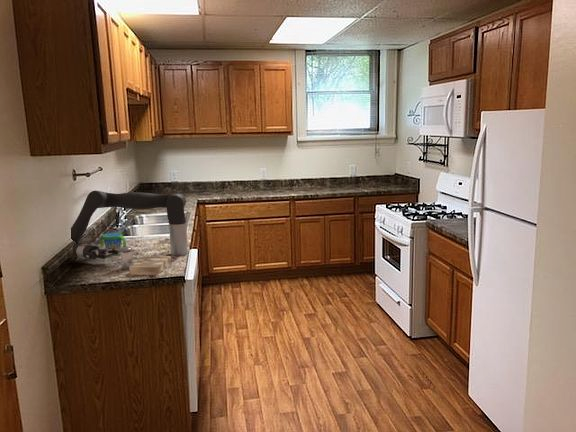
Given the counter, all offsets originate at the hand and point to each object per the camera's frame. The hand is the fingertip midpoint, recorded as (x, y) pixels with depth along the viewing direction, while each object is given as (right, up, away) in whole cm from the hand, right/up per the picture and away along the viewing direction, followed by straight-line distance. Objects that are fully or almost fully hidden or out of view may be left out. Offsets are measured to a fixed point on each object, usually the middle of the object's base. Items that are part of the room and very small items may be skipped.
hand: (111, 254), depth 233 cm
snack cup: (-9, -1, +28) cm, 30 cm away
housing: (+9, -6, -3) cm, 12 cm away
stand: (+22, -7, -6) cm, 24 cm away
